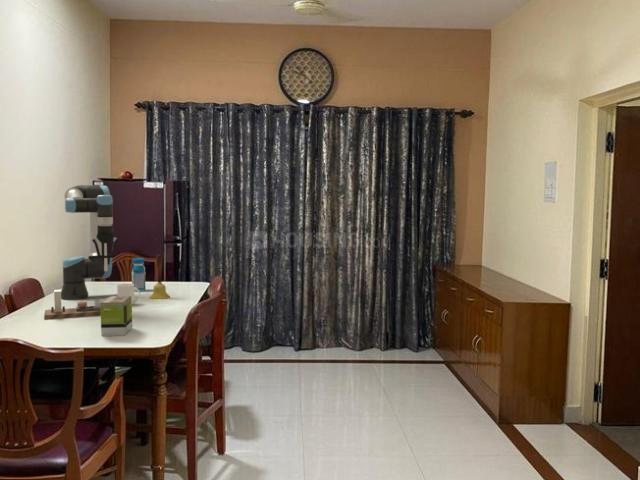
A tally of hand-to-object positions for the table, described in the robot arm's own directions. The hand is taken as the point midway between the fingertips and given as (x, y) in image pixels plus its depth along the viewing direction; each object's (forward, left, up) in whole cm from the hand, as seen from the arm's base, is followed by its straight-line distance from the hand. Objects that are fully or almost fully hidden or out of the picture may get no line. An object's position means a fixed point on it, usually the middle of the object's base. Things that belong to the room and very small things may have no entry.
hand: (105, 270), depth 308 cm
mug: (+2, +16, -20) cm, 26 cm away
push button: (-3, -14, -16) cm, 22 cm away
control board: (-3, -14, -20) cm, 25 cm away
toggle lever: (-12, -21, -17) cm, 30 cm away
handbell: (+6, +40, -20) cm, 46 cm away
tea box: (+36, -42, -20) cm, 59 cm away
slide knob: (+2, -10, -18) cm, 21 cm away
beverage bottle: (-20, +58, -20) cm, 65 cm away
